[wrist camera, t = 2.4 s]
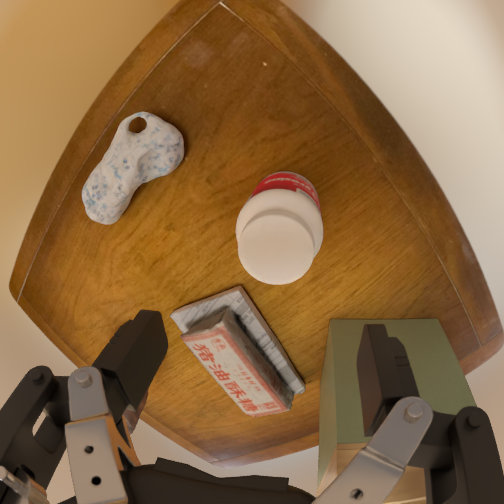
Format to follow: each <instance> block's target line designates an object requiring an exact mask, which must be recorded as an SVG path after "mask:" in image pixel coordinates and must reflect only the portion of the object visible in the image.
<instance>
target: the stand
mask: <svg viewBox="0 0 504 504" xmlns="http://www.w3.org/2000/svg"><path fill="white" fill-rule="evenodd" d="M365 324H384V325H385V327H386V330H387V333H388V337H397V338H398V339H399V340H400V342H401V343H402V344H403V345H404V346H405V349H406V352H407V355H408V359H409V362H410V366H411V368H412V371H413V374H414V378H415V381H416V384H417V388H418V391H419V395H420V398H422V399H424V400H425V401H426V402H428V403H429V404H430V406H431V407H432V410H433V411H436V412H440V413H446V414H453V415H457V413H458V412H459V411H460V410H461V409H462V408H464V407H467V406H475V407H477V405H476V403H475V401H474V398H473V395H472V393H471V390H470V388H469V385H468V383H467V381H466V378H465V376H464V373H463V371H462V369H461V367H460V364H459V362H458V360H457V358H456V356H455V353H454V351H453V349H452V347H451V345H450V343H449V341H448V339H447V337H446V335H445V333H444V331H443V329H442V327H441V325H440V323H439V321H438V319H437V318H432V319H330V324H329V331H328V338H327V345H326V351H325V358H324V364H323V370H322V376H321V381H320V427H319V460H318V480H317V489H318V487H319V485H320V483H321V481H322V478H323V476H324V474H325V471H326V469H327V467H328V464H329V462H330V459H331V457H332V455H333V452H334V450H335V447H336V444H346V443H368V442H369V441H370V439H371V438H372V437H373V436H372V437H364V426H363V416H362V407H361V398H360V390H359V382H358V375H357V366H356V363H357V353H358V349H359V345H360V341H361V336H362V332H363V327H364V325H365Z"/></svg>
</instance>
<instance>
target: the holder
mask: <svg viewBox="0 0 504 504" xmlns="http://www.w3.org/2000/svg"><path fill="white" fill-rule="evenodd" d="M366 444H367V443H346V444H336V447H335V450H334V452H333V455H332V457H331V459H330V462H329V464H328V467H327V469H326V471H325V474H324V476H323V478H322V481H321V483H320V485H319V487H318V489H317V496H316V498H317V497H318V496H319V495H320V494H321V493H322V492H323V491H324V490H325V489H326V488H327V487H328V486H329V485H330V484H331V483H332V482H333V480H334V479H335V478H336V477H337V476H338V475H339V474H340V473H341V472H342V470H343V469H344V468H345V467H346V466H347V465H348V463H349V462H350V461H351V460H352V459H353V458H354V456H355V455H356V454H357V453H358V452H359V450H360V449H361V448H364V447H365V446H366ZM383 504H426V488H425V476H424V468H418V467H412V466H406V468H405V472H404V474H403V475H402V477H401V478H400V480H399V481H398V483H397V484H396V486H395V487H394V489H393V490H392V492H391V493H390V494H389V496H388V497H387V499H386V500H385V501H384V503H383Z"/></svg>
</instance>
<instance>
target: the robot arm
mask: <svg viewBox="0 0 504 504" xmlns="http://www.w3.org/2000/svg"><path fill="white" fill-rule="evenodd" d="M167 349H168V340H167V336H166V332H165V328H164V324H163V320H162V316H161V313H160V312H159V311H151V310H140V311H139V313H138V314H137V315H136V317H135V318H134V319H133V320H129V321H128V322H126V323H125V324H123V325H122V326H120V328H119V329H118V330H117V332H116V333H115V334H114V336H113V337H112V338H111V340H110V341H109V343H108V344H107V345H106V346H105V348H104V349H103V350H102V352H101V353H100V355H99V356H98V357H97V359H96V360H95V361H94V363H93V364H92V366H84V367H81V368H78V369H77V370H75V371H74V372H73V373H72V374H71V375H70V376H54V375H53V373H52V371H51V370H50V368H49V367H47V366H37V367H35V368H32V369H31V370H30V371H28V373H27V374H26V375H25V377H24V378H23V379H22V381H21V382H20V383H19V385H18V386H17V387H16V389H15V390H14V392H13V393H12V394H11V396H10V397H9V398H8V400H7V401H6V403H5V404H4V406H3V407H2V409H1V410H0V504H50V503H49V501H48V500H47V494H46V489H47V487H48V485H49V482H50V480H51V478H52V476H53V474H54V472H55V470H56V468H57V466H58V464H59V462H60V460H61V458H62V456H63V454H64V451H65V450H66V448H67V451H68V458H69V464H70V470H71V476H72V481H73V485H74V490H75V495H76V496H74V497H71V498H70V499H67V500H65V501H63V502H60V503H58V504H383V503H384V501H385V500H386V499H387V497H388V496H389V494H390V493H391V492H392V490H393V489H394V487H395V486H396V484H397V483H398V481H399V480H400V478H401V477H402V475H403V474H404V472H405V468H406V466H412V467H418V468H424V476H425V488H426V504H504V475H503V470H502V465H501V461H500V456H499V452H498V449H497V444H496V441H495V437H494V433H493V430H492V427H491V423H490V420H489V417H488V415H487V414H486V413H485V412H484V411H483V410H482V409H480V408H478V407H475V406H467V407H464V408H462V409H461V410H460V411H459V412H458V413H457V415H453V414H446V413H440V412H436V411H433V410H432V407H431V406H430V404H429V403H428V402H426V401H425V400H424V399H422V398H420V395H419V391H418V388H417V384H416V381H415V378H414V374H413V371H412V368H411V366H410V362H409V359H408V355H407V352H406V349H405V346H404V345H403V344H402V343H401V342H400V340H399V339H398V338H397V337H388V333H387V330H386V327H385V325H384V324H365V325H364V327H363V332H362V336H361V341H360V345H359V349H358V353H357V363H356V366H357V375H358V382H359V390H360V398H361V407H362V416H363V426H364V437H372V436H373V437H372V438H371V439H370V441H369V442H368V443H367V444H366V446H365V447H364V448H361V449H360V450H359V452H358V453H357V454H356V455H355V456H354V458H353V459H352V460H351V461H350V462H349V463H348V465H347V466H346V467H345V468H344V469H343V470H342V472H341V473H340V474H339V475H338V476H337V477H336V478H335V479H334V480H333V482H332V483H331V484H330V485H329V486H328V487H327V488H326V489H325V490H324V491H323V492H322V493H321V494H320V495H319V496H318V497H317V498H316V497H314V496H312V495H311V494H310V493H308V492H306V491H304V490H302V489H299V488H297V487H293V486H290V485H288V481H289V478H284V477H269V476H259V475H251V476H240V477H226V478H219V477H215V476H213V475H210V474H208V473H206V472H203V471H201V470H199V469H197V468H194V467H192V466H190V465H188V464H184V463H179V462H175V461H171V460H167V459H163V458H159V457H158V458H157V461H156V463H155V464H148V465H141V463H140V462H139V460H138V458H137V456H136V453H135V451H134V448H133V444H132V441H131V438H130V435H129V431H128V428H127V425H126V421H125V418H124V416H123V414H124V412H125V410H126V409H127V410H131V411H134V412H136V411H137V409H138V407H139V405H140V403H141V401H142V399H143V397H144V395H145V393H146V392H147V390H148V388H149V386H150V384H151V382H152V380H153V378H154V376H155V374H156V372H157V370H158V368H159V366H160V365H161V363H162V361H163V359H164V357H165V355H166V353H167ZM42 411H43V412H44V413H45V414H46V417H45V419H44V421H43V422H42V424H41V426H40V427H39V429H38V431H37V432H36V434H35V436H33V433H32V429H33V426H34V424H35V422H36V421H37V419H38V417H39V416H40V414H41V413H42Z"/></svg>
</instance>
